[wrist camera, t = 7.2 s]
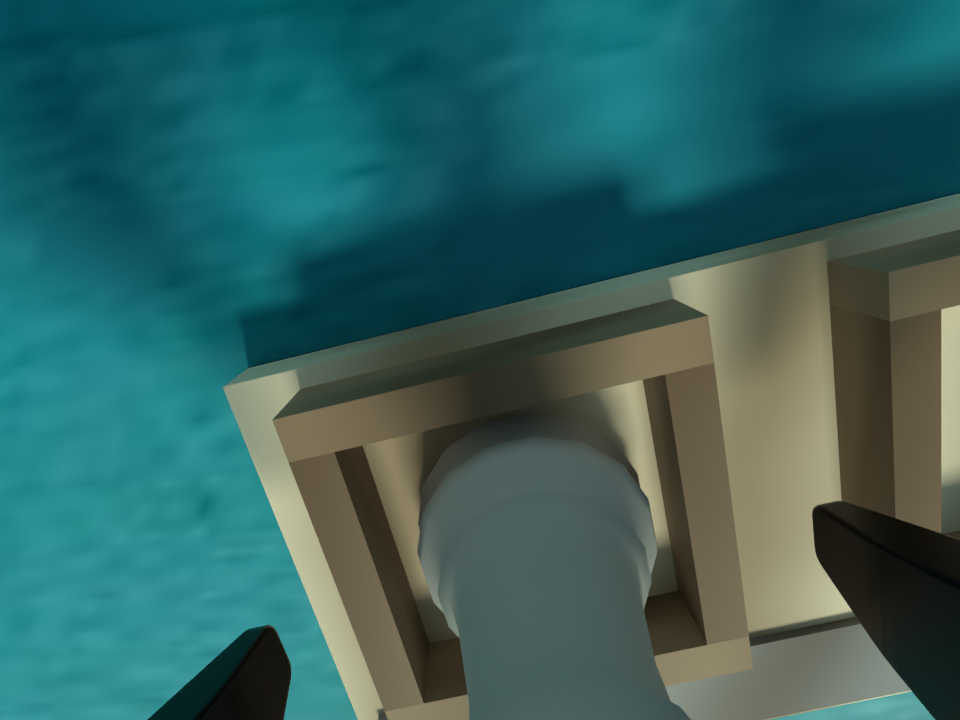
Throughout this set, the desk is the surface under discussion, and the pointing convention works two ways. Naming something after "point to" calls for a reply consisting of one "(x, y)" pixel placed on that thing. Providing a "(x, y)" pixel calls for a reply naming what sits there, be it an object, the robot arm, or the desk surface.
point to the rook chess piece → (544, 572)
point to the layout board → (645, 454)
